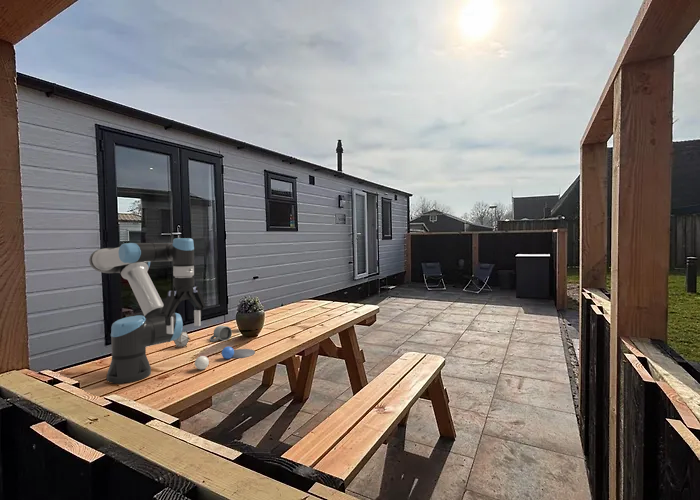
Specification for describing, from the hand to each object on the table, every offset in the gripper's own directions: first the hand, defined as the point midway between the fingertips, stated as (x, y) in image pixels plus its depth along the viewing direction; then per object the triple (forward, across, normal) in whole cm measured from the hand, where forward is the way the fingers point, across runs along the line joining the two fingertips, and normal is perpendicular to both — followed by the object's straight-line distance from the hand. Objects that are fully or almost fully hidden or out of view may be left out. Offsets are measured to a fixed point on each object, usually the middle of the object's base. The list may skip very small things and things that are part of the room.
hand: (184, 329), depth 144 cm
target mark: (+19, +31, -2) cm, 36 cm away
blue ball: (+16, +23, -2) cm, 28 cm away
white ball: (+16, +8, -1) cm, 18 cm away
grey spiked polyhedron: (+19, +29, +33) cm, 48 cm away
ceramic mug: (+19, +47, +24) cm, 56 cm away
